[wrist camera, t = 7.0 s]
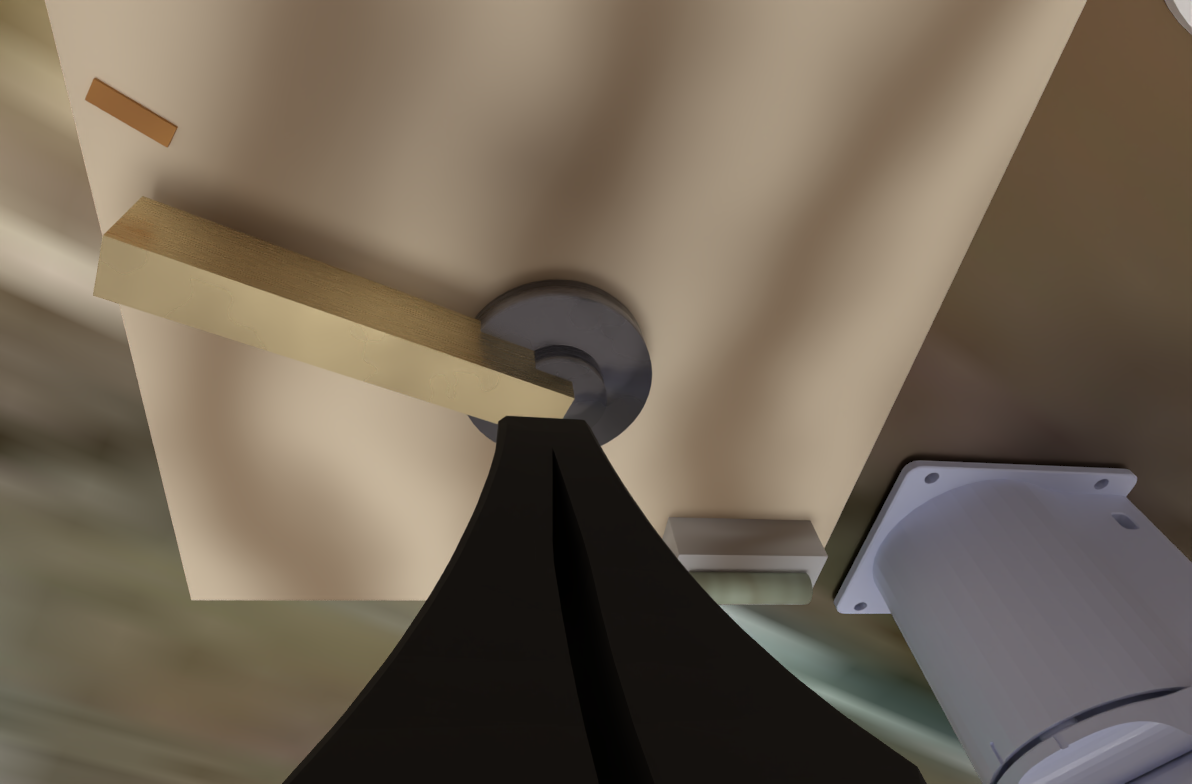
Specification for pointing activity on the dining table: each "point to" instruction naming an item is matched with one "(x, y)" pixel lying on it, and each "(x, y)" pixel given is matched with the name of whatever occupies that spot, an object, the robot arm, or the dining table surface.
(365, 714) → the robot arm
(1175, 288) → the dining table surface
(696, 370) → the base plate
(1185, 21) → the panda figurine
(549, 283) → the bar with round base
